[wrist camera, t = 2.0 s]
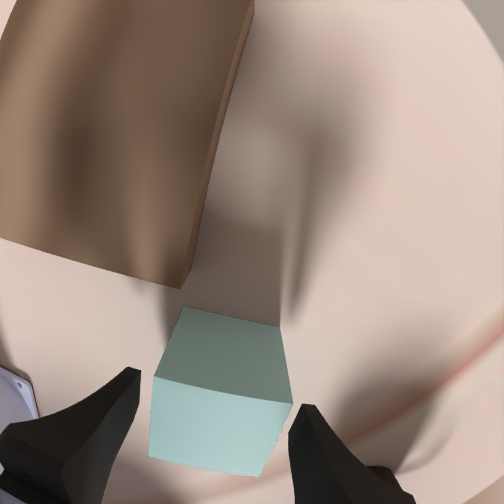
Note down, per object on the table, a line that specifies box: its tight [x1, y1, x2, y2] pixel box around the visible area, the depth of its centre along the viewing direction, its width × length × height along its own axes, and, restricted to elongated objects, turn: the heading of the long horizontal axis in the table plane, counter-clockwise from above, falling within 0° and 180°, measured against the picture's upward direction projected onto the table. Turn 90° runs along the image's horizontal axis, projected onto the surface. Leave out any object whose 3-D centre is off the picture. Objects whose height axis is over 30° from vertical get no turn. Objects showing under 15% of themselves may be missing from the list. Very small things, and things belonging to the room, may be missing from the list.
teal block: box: [148, 306, 293, 477], centre depth 14 cm, size 5×5×6 cm
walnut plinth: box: [0, 0, 254, 289], centre depth 12 cm, size 13×13×2 cm
